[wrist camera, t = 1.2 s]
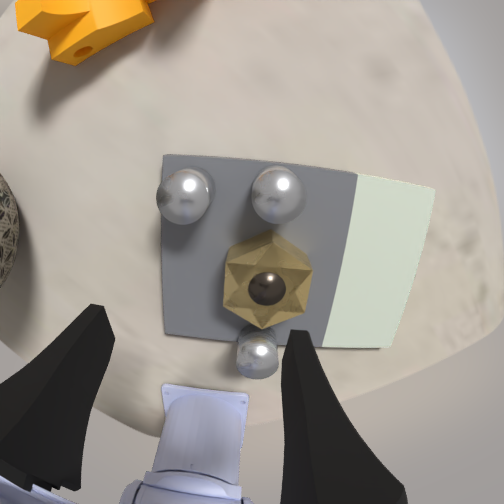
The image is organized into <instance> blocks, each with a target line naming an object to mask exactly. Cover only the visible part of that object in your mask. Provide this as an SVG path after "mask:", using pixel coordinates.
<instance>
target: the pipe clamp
mask: <svg viewBox="0 0 504 504" xmlns="http://www.w3.org/2000/svg"><path fill="white" fill-rule="evenodd" d="M154 1H156V0H18V1H17V2H16V3H15V8H16V19H17V27H18V31H20V32H24V33H27V34H30V35H34V36H37V37H40V38H43V39H46V40H48V45H49V50H50V54H51V59H52V60H55V61H59V62H63V63H66V64H70V65H74V66H76V65H78V64H79V63H81V62H82V61H84V60H85V59H87V58H89V57H90V56H92V55H93V54H95V53H97V52H98V51H100V50H102V49H104V48H105V47H107V46H109V45H111V44H112V43H114V42H116V41H118V40H120V39H121V38H123V37H125V36H127V35H129V34H131V33H133V32H135V31H137V30H139V29H141V28H143V27H145V26H147V25H149V24H152V23H154V20H153V17H152V14H151V11H150V8H149V6H148V4H149V3H152V2H154Z"/></svg>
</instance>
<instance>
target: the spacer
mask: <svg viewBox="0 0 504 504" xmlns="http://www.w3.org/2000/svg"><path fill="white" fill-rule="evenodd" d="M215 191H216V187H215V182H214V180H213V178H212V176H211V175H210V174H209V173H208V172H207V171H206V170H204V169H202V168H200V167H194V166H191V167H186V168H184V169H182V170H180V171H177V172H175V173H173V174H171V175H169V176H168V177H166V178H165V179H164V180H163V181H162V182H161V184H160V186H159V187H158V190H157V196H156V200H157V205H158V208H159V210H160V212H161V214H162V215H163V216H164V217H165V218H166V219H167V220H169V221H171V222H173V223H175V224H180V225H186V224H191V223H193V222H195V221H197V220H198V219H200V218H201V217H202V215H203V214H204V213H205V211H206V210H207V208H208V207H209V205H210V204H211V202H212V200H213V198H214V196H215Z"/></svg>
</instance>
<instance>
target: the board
mask: <svg viewBox="0 0 504 504" xmlns="http://www.w3.org/2000/svg"><path fill="white" fill-rule="evenodd" d="M271 165H280V166H284V167H286V168H288V169H290V170H291V171H292V172H293V173H294V174H295V175H296V176H297V177H298V178H299V180H300V181H301V182H302V184H303V185H304V188H305V191H306V204H305V207H304V209H303V211H302V212H301V214H300V215H299V216H298V217H297V218H296V219H294V220H292V221H290V222H288V223H284V224H273V223H270V222H267V221H265V220H264V219H262V218H261V217H260V216H259V215H258V214H257V213H256V211H255V209H254V207H253V204H252V186H253V181H254V178H255V177H256V175H257V174H258V172H259V171H261V170H262V169H263V168H265V167H268V166H271ZM191 166H194V167H200V168H202V169H204V170H206V171H207V172H208V173H209V174H210V175H211V176H212V178H213V180H214V182H215V187H216V191H215V196H214V198H213V200H212V202H211V204H210V205H209V207H208V208H207V210H206V211H205V213H204V214H203V215H202V217H201V218H200V219H198V220H197V221H195V222H193V223H191V224H186V225H180V224H175V223H173V222H171V221H169V220H167V219H166V218H165V217H164V216H163V215H162V214H161V251H162V287H163V308H164V325H165V333H167V334H174V335H182V336H189V337H198V338H206V339H215V340H225V341H235V342H238V338H239V333H240V331H241V330H242V329H243V328H244V327H245V326H247V325H249V324H251V323H250V322H249V321H247V320H245V319H243V318H242V317H240V316H238V315H237V314H235V313H233V312H232V311H230V310H228V309H227V308H225V307H223V298H224V282H225V266H226V259H227V255H228V251H229V247H231V246H233V245H235V244H238V243H240V242H242V241H245V240H247V239H249V238H252V237H254V236H256V235H259V234H261V233H263V232H266V231H268V230H270V229H272V230H273V231H274V232H276V233H277V234H279V235H280V236H282V237H283V238H284V239H286V240H287V241H289V242H290V243H292V244H293V245H294V246H296V247H297V248H299V249H300V250H302V251H303V252H304V253H306V254H307V256H308V259H309V261H310V264H311V266H312V269H313V274H312V279H311V284H310V289H309V294H308V300H307V304H306V309H305V313H303V314H301V315H298V316H296V317H293V318H290V319H288V320H285V321H282V322H280V323H277V324H274V325H272V326H270V327H271V328H273V330H274V331H275V333H276V338H277V345H287V341H288V337H289V334H290V330H291V329H294V330H307V331H308V332H309V333H310V337H311V340H312V343H313V346H314V347H346V348H388V347H390V346H391V344H392V341H393V338H394V336H395V333H396V331H397V328H398V325H399V323H400V320H401V317H402V314H403V311H404V308H405V306H406V303H407V300H408V297H409V293H410V290H411V287H412V284H413V281H414V278H415V274H416V271H417V267H418V264H419V260H420V257H421V253H422V249H423V245H424V242H425V238H426V233H427V229H428V225H429V221H430V216H431V212H432V207H433V202H434V197H435V192H436V190H435V189H432V188H430V187H426V186H421V185H417V184H412V183H407V182H402V181H397V180H392V179H387V178H382V177H376V176H371V175H365V174H359V173H353V172H347V171H341V170H334V169H328V168H321V167H313V166H306V165H298V164H290V163H281V162H272V161H262V160H251V159H240V158H227V157H213V156H196V155H173V154H167V155H163V171H162V181H163V180H164V179H165V178H166V177H168V176H169V175H171V174H173V173H175V172H177V171H180V170H182V169H184V168H186V167H191Z"/></svg>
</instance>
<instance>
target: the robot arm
mask: <svg viewBox="0 0 504 504" xmlns="http://www.w3.org/2000/svg"><path fill="white" fill-rule="evenodd" d="M114 342H115V336H114V334H113V331H112V328H111V325H110V323H109V320H108V317H107V314H106V311H105V308H104V306H101V305H95V304H90V305H89V306H88V307H87V308H86V309H85V310H84V311H83V312H82V313H81V314H80V315H79V316H78V317H77V318H76V319H75V320H74V321H73V322H72V323H71V324H70V325H69V326H68V327H67V328H66V329H65V330H64V331H63V332H62V333H61V334H60V335H59V336H58V337H57V338H56V339H55V340H54V341H53V342H52V343H51V344H50V345H48V346H47V347H46V348H45V349H44V350H43V351H42V352H41V353H40V354H39V355H38V356H37V357H35V358H34V359H33V360H32V361H31V362H30V363H28V364H27V365H26V366H25V367H24V368H22V369H21V370H20V371H18V372H17V373H15V374H14V375H13V376H11V377H10V378H8V379H7V380H5V381H4V382H3V383H1V384H0V504H77V503H74V502H72V501H70V500H67V499H65V498H63V497H60V496H58V495H56V494H54V493H52V492H51V489H52V487H53V488H55V489H57V490H60V487H61V486H63V487H65V488H68V489H70V490H72V491H77V490H79V489H80V488H81V467H82V457H83V456H82V455H83V448H84V441H85V436H86V430H87V425H88V421H89V416H90V412H91V409H92V406H93V403H94V400H95V397H96V395H97V392H98V389H99V387H100V384H101V381H102V379H103V376H104V374H105V371H106V369H107V366H108V363H109V361H110V357H111V353H112V350H113V346H114ZM161 391H162V397H163V404H164V410H165V417H166V419H165V423H164V426H163V430H162V434H161V437H160V441H159V445H158V449H157V453H156V456H155V460H154V464H153V468H152V471H151V472H149V471H146V473H145V477H144V481H141V480H135V481H133V482H132V483H131V484H129V485H127V487H126V488H125V489H124V492H123V494H122V496H121V499H120V502H119V504H254V503H253V502H252V501H251V500H250V498H248V497H242V498H241V489H242V488H241V486H238V482H239V462H240V448H242V444H243V437H244V430H245V423H246V416H247V409H248V402H249V395H248V394H246V393H239V392H228V391H218V390H209V389H201V388H193V387H186V386H179V385H172V384H163V385H162V387H161ZM281 392H282V406H283V421H284V439H285V440H284V441H285V446H284V465H283V480H282V493H281V502H280V504H408V502H407V495H406V492H405V488H404V485H403V484H402V483H400V482H399V480H397V479H396V478H395V477H394V476H393V475H392V474H391V472H389V470H388V469H387V468H386V467H385V466H384V465H383V464H382V463H381V462H380V460H379V459H378V458H377V457H376V456H375V455H374V453H373V452H372V451H371V449H370V448H369V447H368V446H367V444H366V443H365V442H364V440H363V439H362V438H361V437H360V435H359V434H358V432H357V431H356V429H355V428H354V426H353V425H352V423H351V422H350V420H349V418H348V417H347V415H346V414H345V412H344V410H343V408H342V407H341V405H340V403H339V401H338V399H337V397H336V396H335V394H334V392H333V390H332V388H331V386H330V384H329V381H328V379H327V377H326V375H325V373H324V371H323V368H322V366H321V364H320V361H319V359H318V356H317V354H316V351H315V348H314V346H313V343H312V340H311V337H310V333H309V332H308V331H307V330H294V329H291V330H290V334H289V337H288V341H287V345H286V348H285V352H284V355H283V359H282V372H281Z"/></svg>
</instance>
